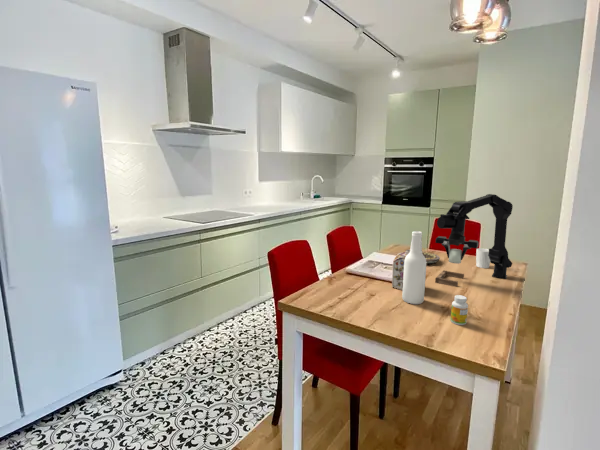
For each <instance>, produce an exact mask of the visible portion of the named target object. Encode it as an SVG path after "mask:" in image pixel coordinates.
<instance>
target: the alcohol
mask: <svg viewBox="0 0 600 450" xmlns="http://www.w3.org/2000/svg"><path fill="white" fill-rule="evenodd" d="M422 237H423V232H422V231H420V230H414V231H412V232H411V242H410V247H409V248H410V249H409V250H410V252H409V254H408V255H407V256H406V257H405V260H404V275H403V290H402V292H401V293H402V295H401V298H402V300H403V302H404V303H406V302H407V303H406V304H409V303H410V304H409V305H421V304H422V303H424V301H425V288H426V279H425V277H427V276H426V275H427V264H426V258H425V257H424V255H423V254H422V252H423V246H422V245H423V242H422V241H423V240H422V239H423V238H422Z"/></svg>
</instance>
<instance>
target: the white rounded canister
mask: <svg viewBox="0 0 600 450" xmlns="http://www.w3.org/2000/svg"><path fill="white" fill-rule="evenodd" d="M462 251H463V249H462V250H461V249H459V248H458V249H457V248H450V252H449V258H448V262H449V263H451V264H458V265H459V264H461V263H462V260H461V255H462Z"/></svg>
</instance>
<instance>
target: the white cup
mask: <svg viewBox="0 0 600 450" xmlns="http://www.w3.org/2000/svg"><path fill="white" fill-rule="evenodd" d="M475 249H476V253H475V255H476V256H475V258H476V259H475V263H476V264H475V266H476V267H478V268H479V269H480V268H481V269H489V268H490V264H491V262H490V259H489V256H488V254H489V249H490V248H483V247H479V248H478V247H477V248H475Z"/></svg>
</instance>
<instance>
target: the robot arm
mask: <svg viewBox="0 0 600 450" xmlns="http://www.w3.org/2000/svg"><path fill="white" fill-rule="evenodd" d="M486 205H488V206H490V207H491V208H492V213H493V216H494V217H495V227H494V236H493V237H494V240H493V245H492V247H491V248H488V249H489V254H488V256H489V259H490V264H493V265H494V266H493V272H492V274H491V277H493V278H497V279H503V280H506V279H507V278H508V274H507V270H508V269H509V268H511V267H512V265H513V262H512V261H511V259H510V258H509V252H508V250H507V247H506V239H507V228H508V225H507V224H508V219H509V218H510V216H511V215H512V211H513V203H512V202H510V201H507V200H506V199H503V198H502V197H500V196H498V195H496V194H492V193H488V194H486V195H484V196H483V195H482V196H480V197H477V198H473V199H471V200H465V201H464V200H463V201H455V202H453V203H452V205H451V207H450V208H449V209H448V211H447V212H446V213H445V214H443V213H442V214H440V216H439V217H438V218H437V221H436V226H437V228H438V229H441V230H442V229H451V232H450V234H449V236H448V238H447V236H442V235H441V236H440V235H438V236H437V237H436V238H435V242H434V243H435V244H441V246H443V248H444V250H445V253H446V256H447V259H449V252H450V249H451V246H457V247H458V246H460V245H462V246H463V247H462V255H461V261H462V260H463V258H464V257H465V255H466V253H467V251H468V250H470V249H477V248H478V247H479V245H480V244H479V241H478V240H475V239H469V240H468V241H467V240H466V236H465V229H466V228H465V225H466V220H470V217H469V216H468V215H467V214H470V213H471V212H472V211H473V210H474V209H478V208H481V207H484V206H486Z"/></svg>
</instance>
